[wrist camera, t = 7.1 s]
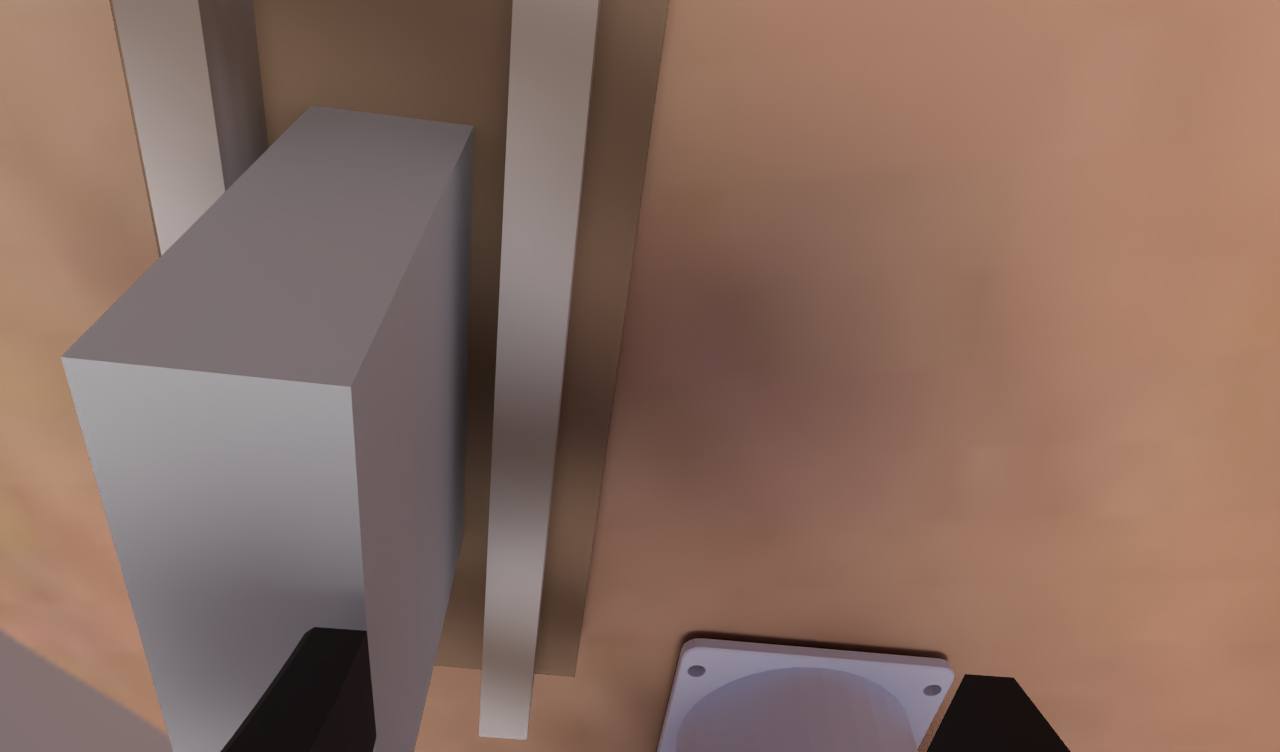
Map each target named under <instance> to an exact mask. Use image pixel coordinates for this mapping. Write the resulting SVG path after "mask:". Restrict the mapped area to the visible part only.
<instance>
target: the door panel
mask: <svg viewBox="0 0 1280 752" xmlns="http://www.w3.org/2000/svg"><path fill="white" fill-rule="evenodd" d="M473 136H474V126H471V125H463V124H455V123H447V122H439V121H431V120H423V119H415V118H407V117H399V116H391V115H384V114H376V113H368V112H360V111H352V110H344V109H336V108H328V107H320V106H312V105H311V106H310V107H309V108H308V109H307V110H306V111H305V112H304V113H303V114H302V115H301V116H300V117H299V118H298V119H297V120H296V121H295V122H294V123H293V124H292V125H291V126H290V127H289V128H288V129H287V130H286V131H285V132H284V133H283V134H282V135H281V136H280V137H279V138H278V139H277V140H276V141H275V142H274V143H273V144H272V145H271V146H270V147H269V148H268V149H267V150H266V151H265V152H264V153H263V154H262V155H261V156H260V157H259V158H258V159H257V160H256V161H255V162H254V163H253V164H252V165H251V166H250V167H249V168H248V169H247V170H246V171H245V172H244V173H243V174H242V175H241V176H240V177H239V178H238V179H237V180H236V181H235V182H234V183H233V184H232V185H231V186H230V187H229V188H228V189H227V190H226V191H225V192H224V193H223V194H222V195H221V196H220V197H219V199H218V200H217V201H216V202H215V203H214V204H213V205H212V206H211V207H210V208H209V209H208V210H207V211H206V212H205V213H204V214H203V215H202V216H201V217H200V218H199V219H198V220H197V221H196V222H195V223H194V224H193V225H192V226H191V227H190V228H189V229H188V230H187V231H186V232H185V233H184V234H183V235H182V236H181V237H180V238H179V239H178V240H177V241H176V242H175V243H174V244H173V245H172V246H171V247H170V248H169V249H168V250H167V251H166V252H165V253H164V254H163V255H162V256H161V257H160V258H159V259H158V260H157V261H156V262H155V263H154V264H153V265H152V266H151V267H150V268H149V269H148V270H147V271H146V272H145V273H144V274H143V275H142V276H141V277H140V278H139V279H138V280H137V281H136V282H135V283H134V284H133V285H132V286H131V287H130V288H129V289H128V290H127V291H126V292H125V293H124V294H123V295H122V296H121V297H120V298H119V299H118V300H117V301H116V302H115V303H114V304H113V305H112V306H111V307H110V308H109V309H108V310H107V311H106V312H105V313H104V314H103V315H102V316H101V317H100V318H99V319H98V320H97V321H96V322H95V323H94V324H93V325H92V326H91V327H90V328H89V329H88V330H87V331H86V332H85V333H84V334H83V335H82V336H81V337H80V338H79V339H78V340H77V341H76V342H75V343H74V344H73V345H72V346H71V347H70V348H69V349H68V350H67V351H66V352H65V353H64V354H63V355H62V356H61V359H62V363H63V366H64V370H65V373H66V377H67V380H68V384H69V387H70V391H71V394H72V398H73V401H74V405H75V408H76V412H77V415H78V419H79V422H80V426H81V429H82V433H83V436H84V440H85V443H86V447H87V450H88V454H89V457H90V461H91V464H92V468H93V471H94V475H95V479H96V482H97V486H98V489H99V493H100V496H101V500H102V503H103V507H104V510H105V514H106V517H107V521H108V524H109V528H110V531H111V535H112V538H113V542H114V545H115V549H116V552H117V556H118V559H119V563H120V566H121V570H122V573H123V577H124V580H125V584H126V587H127V591H128V594H129V598H130V602H131V605H132V609H133V612H134V616H135V619H136V623H137V626H138V630H139V633H140V637H141V640H142V644H143V647H144V651H145V654H146V658H147V661H148V665H149V668H150V672H151V675H152V679H153V682H154V686H155V689H156V693H157V696H158V700H159V703H160V707H161V710H162V714H163V717H164V721H165V724H166V728H167V732H168V735H169V739H170V742H171V745H172V749H173V752H220V751H221V750H222V749H223V748H224V746H225V745H226V744H227V743H228V741H229V740H230V739H231V737H232V736H233V735H234V733H235V732H236V731H237V729H238V728H239V727H240V725H241V724H242V723H243V721H244V720H245V718H246V717H247V716H248V714H249V713H250V712H251V710H252V709H253V708H254V706H255V705H256V704H257V702H258V701H259V699H260V698H261V697H262V695H263V694H264V693H265V691H266V690H267V688H268V687H269V686H270V684H271V683H272V681H273V680H274V678H275V677H276V676H277V674H278V673H279V671H280V670H281V668H282V667H283V665H284V664H285V662H286V661H287V660H288V658H289V657H290V655H291V654H292V652H293V651H294V649H295V648H296V646H297V644H298V643H299V641H300V640H301V638H302V637H303V635H304V634H305V633H306V632H307V631H309V630H310V629H312V628H313V627H322V628H336V629H349V630H363V631H367V637H368V648H369V659H370V670H371V681H372V692H373V703H374V714H375V725H376V735H377V736H376V741H375V745H374V750H373V752H414V749H415V745H416V740H417V736H418V732H419V727H420V723H421V719H422V714H423V710H424V706H425V701H426V697H427V693H428V688H429V684H430V680H431V675H432V671H433V667H434V662H435V658H436V653H437V649H438V645H439V640H440V636H441V632H442V627H443V623H444V619H445V614H446V610H447V606H448V601H449V597H450V593H451V588H452V584H453V580H454V575H455V571H456V567H457V562H458V558H459V553H460V549H461V545H462V540H463V536H464V499H465V458H466V418H467V378H468V337H469V297H470V257H471V216H472V176H473Z"/></svg>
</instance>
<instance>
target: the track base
mask: <svg viewBox="0 0 1280 752" xmlns="http://www.w3.org/2000/svg"><path fill="white" fill-rule="evenodd" d="M109 1H110V6H111V11H112V16H113V21H114V26H115V31H116V36H117V42H118V47H119V52H120V57H121V62H122V67H123V72H124V77H125V83H126V88H127V93H128V98H129V103H130V108H131V113H132V119H133V124H134V129H135V134H136V139H137V144H138V149H139V154H140V160H141V165H142V170H143V175H144V180H145V185H146V190H147V195H148V201H149V206H150V211H151V216H152V221H153V226H154V231H155V236H156V242H157V247H158V252H159V257H161V256H162V255H163V254H164V253H165V252H166V251H167V250H168V249H169V248H170V247H171V246H172V245H173V244H174V243H175V242H176V241H177V240H178V239H179V238H180V237H181V236H182V235H183V234H184V233H185V232H186V231H187V230H188V229H189V228H190V227H191V226H192V225H193V224H194V223H195V222H196V221H197V220H198V219H199V218H200V217H201V216H202V215H203V214H204V213H205V212H206V211H207V210H208V209H209V208H210V207H211V206H212V205H213V204H214V203H215V202H216V201H217V200H218V199H219V197H220V196H221V195H222V194H223V193H224V192H225V191H226V190H227V189H228V188H229V187H230V186H231V185H232V184H233V183H234V182H235V181H236V180H237V179H238V178H239V177H240V176H241V175H242V174H243V173H244V172H245V171H246V170H247V169H248V168H249V167H250V166H251V165H252V164H253V163H254V162H255V161H256V160H257V159H258V158H259V157H260V156H261V155H262V154H263V153H264V152H265V151H266V150H267V149H268V148H269V147H270V146H271V145H272V144H273V143H274V142H275V141H276V140H277V139H278V138H279V137H280V136H281V135H282V134H283V133H284V132H285V131H286V130H287V129H288V128H289V127H290V126H291V125H292V124H293V123H294V122H295V121H296V120H297V119H298V118H299V117H300V116H301V115H302V114H303V113H304V112H305V111H306V110H307V109H308V108H309V107H310V106H311V105H312V106H320V107H328V108H336V109H344V110H352V111H360V112H368V113H376V114H384V115H391V116H399V117H407V118H415V119H423V120H431V121H439V122H447V123H455V124H463V125H471V126H474V136H473V176H472V216H471V257H470V297H469V337H468V378H467V418H466V458H465V499H464V536H463V540H462V545H461V549H460V553H459V558H458V562H457V567H456V571H455V575H454V580H453V584H452V588H451V593H450V597H449V601H448V606H447V610H446V614H445V619H444V623H443V627H442V632H441V636H440V640H439V645H438V649H437V653H436V658H435V662H434V665H435V666H448V667H460V668H472V669H482V679H481V701H480V723H479V737H493V738H506V739H519V740H527V732H528V723H529V715H530V706H531V697H532V689H533V680H534V674H546V675H559V676H571V677H575V671H576V663H577V656H578V649H579V642H580V635H581V628H582V620H583V613H584V606H585V599H586V592H587V585H588V577H589V570H590V563H591V556H592V549H593V542H594V534H595V527H596V520H597V513H598V506H599V499H600V491H601V484H602V477H603V470H604V463H605V456H606V448H607V441H608V434H609V427H610V420H611V413H612V405H613V398H614V391H615V384H616V377H617V370H618V362H619V355H620V348H621V341H622V334H623V327H624V319H625V312H626V305H627V298H628V291H629V284H630V276H631V269H632V262H633V255H634V248H635V241H636V233H637V226H638V219H639V212H640V205H641V198H642V190H643V183H644V176H645V169H646V162H647V155H648V147H649V140H650V133H651V126H652V119H653V112H654V104H655V97H656V90H657V83H658V76H659V69H660V61H661V54H662V47H663V40H664V33H665V26H666V18H667V11H668V4H669V0H109Z"/></svg>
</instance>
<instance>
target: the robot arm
mask: <svg viewBox="0 0 1280 752" xmlns="http://www.w3.org/2000/svg"><path fill="white" fill-rule="evenodd" d="M954 676H955V675H954V672H953V669H952V666H951V664H950V663H949V662H948V661H946V660H944V659H939V658H928V657H917V656H905V655H893V654H881V653H869V652H858V651H846V650H834V649H822V648H811V647H799V646H787V645H775V644H764V643H752V642H740V641H728V640H717V639H705V638H695V639H692V640H689V641H688V642H686V643H685V644H684V645H683V647H682V648H681V653H680V657H679V661H678V665H677V669H676V673H675V678H674V682H673V686H672V690H671V694H670V698H669V703H668V707H667V711H666V715H665V719H664V723H663V728H662V732H661V736H660V740H659V744H658V748H657V752H918V747H919V745H920V744H921V742H922V740H923V738H924V736H925V734H926V732H927V730H928V728H929V726H930V724H931V722H932V721H933V719H934V717H935V715H936V713H937V711H938V709H939V707H940V705H941V703H942V701H943V699H944V698H945V696H946V694H947V692H948V690H949V688H950V686H951V684H952V682H953V680H954ZM376 736H377V735H376V725H375V714H374V703H373V692H372V681H371V670H370V659H369V648H368V637H367V631H363V630H349V629H336V628H322V627H313V628H312V629H310V630H309V631H307V632H306V633H305V634H304V635H303V637H302V638H301V640H300V641H299V643H298V644H297V646H296V648H295V649H294V651H293V652H292V654H291V655H290V657H289V658H288V660H287V661H286V662H285V664H284V665H283V667H282V668H281V670H280V671H279V673H278V674H277V676H276V677H275V678H274V680H273V681H272V683H271V684H270V686H269V687H268V688H267V690H266V691H265V693H264V694H263V695H262V697H261V698H260V699H259V701H258V702H257V704H256V705H255V706H254V708H253V709H252V710H251V712H250V713H249V714H248V716H247V717H246V718H245V720H244V721H243V723H242V724H241V725H240V727H239V728H238V729H237V731H236V732H235V733H234V735H233V736H232V737H231V739H230V740H229V741H228V743H227V744H226V745H225V746H224V748H223V749H222V750H221V751H220V752H373V750H374V745H375V741H376ZM927 752H1070V750H1069V749H1068V748H1067V747H1066V745H1065V744H1064V743H1063V741H1062V740H1061V739H1060V737H1059V736H1058V735H1057V733H1056V732H1055V731H1054V730H1053V728H1052V727H1051V726H1050V724H1049V723H1048V722H1047V720H1046V719H1045V718H1044V717H1043V715H1042V714H1041V713H1040V711H1039V710H1038V709H1037V707H1036V706H1035V705H1034V703H1033V702H1032V701H1031V700H1030V698H1029V697H1028V696H1027V694H1026V693H1025V692H1024V691H1023V689H1022V688H1021V687H1020V685H1019V684H1018V683H1017V681H1016V680H1015V679H1014V678H1009V677H995V676H981V675H968V674H965V676H964V678H963V680H962V682H961V684H960V686H959V688H958V690H957V692H956V694H955V696H954V698H953V700H952V702H951V704H950V706H949V708H948V710H947V712H946V714H945V716H944V718H943V720H942V722H941V724H940V726H939V728H938V730H937V732H936V734H935V736H934V738H933V740H932V742H931V744H930V746H929V748H928V750H927Z"/></svg>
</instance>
